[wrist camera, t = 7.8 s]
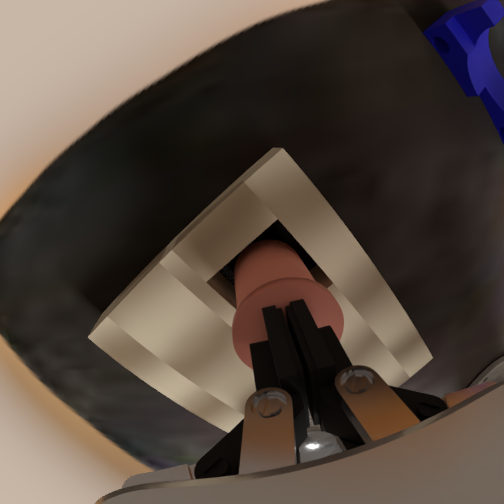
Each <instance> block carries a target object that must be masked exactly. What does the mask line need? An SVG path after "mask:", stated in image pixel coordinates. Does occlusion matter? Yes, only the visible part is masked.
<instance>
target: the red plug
mask: <svg viewBox="0 0 504 504" xmlns="http://www.w3.org/2000/svg"><path fill="white" fill-rule="evenodd" d="M234 281H235V292H236V302H237V310H236V312H235V315H234V318H233V322H232V337H233V345H234V349H235V351H236V353H237V355H238V357H239V358H240V359H241V361H242V362H243V363H244V364H245V365H247V366H248V367H249V368H251V369H252V370H253V366H252V360H251V353H250V346H249V344H251V343H256V342H261V341H265V340H268V337H267V332H266V327H265V322H264V318H263V313H262V308H264V307H269V306H273V305H275V306H276V309H277V308H282V311H283V314H284V317H285V319H286V322H287V316H286V310H285V306H290V302H291V301H295V300H300V299H304V301H305V303H306V305H307V307H308V309H309V311H310V313H311V315H312V317H313V319H314V321H315V323H316V325H317V327H318V328H320V327H324V326H328V325H330V326H331V327H332V329H333V331H334V332H335V334H336V336H337V338H338V339H339V341H340V339H341V337H342V334H343V329H344V316H343V312H342V309H341V307H340V305H339V303H338V302H337V301H336V299H335V298H334V296H333V295H332V293H331V292H330V291H329V290H328V289H327V288H326V287H324V286H323V285H321V284H320V283H318V282H316V281H315V280H314V278H313V277H312V275H311V274H310V272H309V271H308V269H307V267H306V266H305V264H304V263H303V261H302V260H301V258H300V257H299V255H298V254H297V252H296V251H295V250H294V249H293V248H292V247H291V246H290V245H288V244H286V243H285V242H282V241H279V240H273V239H266V240H261V241H257V242H255V243H253V244H251V245H249V246H248V247H247V248H245V249H244V250H243V251H242V253H241V254H240V255H239V257H238V258H237V261H236V263H235V267H234ZM287 325H288V323H287Z"/></svg>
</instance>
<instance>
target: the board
mask: <svg viewBox="0 0 504 504" xmlns="http://www.w3.org/2000/svg"><path fill="white" fill-rule="evenodd" d="M277 219H278V220H279V221H280V222H281V223H282V224H283V225H284V227H285V228H286V229H287V230H288V231H289V232H290V233H291V234H292V236H293V237H294V238H295V239H296V240H297V241H298V242H299V243H300V245H301V246H302V247H303V248H304V249H305V250H306V252H307V253H308V254H309V255H310V256H311V257H312V258H313V260H314V261H315V262H316V263H317V265H316V266H315V267H313V268H312V269H311V270H310V271H309V272H310V274H311V275H312V277H313V278H314V280H315V281H316V282H318V283H320V284H321V285H323V286H324V287H326V288H327V289H328V290H329V291H330V292H331V293H332V295H333V296H334V298H335V299H336V301H337V302H338V303H339V305H340V307H341V309H342V312H343V316H344V329H343V334H342V337H341V339H340V343H341V345H342V347H343V348H344V350H345V352H346V354H347V356H348V357H349V359H350V361H351V363H352V365H353V366H354V365H363V366H368V367H370V368H372V369H373V370H375V371H376V372H377V373H378V374H379V375H380V377H381V378H382V379H383V380H384V381H385V382H386V383H387V384H388V385H390V386H394V387H399V386H400V385H401V384H403V383H404V382H405V381H406V380H408V379H409V378H410V377H411V376H413V375H414V374H415V373H416V372H417V371H419V370H420V369H421V368H422V367H423V366H425V365H426V364H427V363H428V362H429V361H430V360H431V359H433V357H432V355H431V353H430V352H429V350H428V348H427V346H426V345H425V343H424V341H423V340H422V338H421V336H420V335H419V333H418V331H417V330H416V328H415V326H414V325H413V323H412V322H411V320H410V318H409V317H408V315H407V314H406V312H405V310H404V309H403V307H402V306H401V304H400V303H399V301H398V300H397V298H396V297H395V295H394V293H393V292H392V290H391V289H390V287H389V286H388V284H387V283H386V281H385V280H384V279H383V277H382V276H381V274H380V273H379V271H378V270H377V268H376V267H375V265H374V264H373V263H372V261H371V260H370V258H369V257H368V255H367V254H366V253H365V251H364V250H363V248H362V247H361V246H360V244H359V243H358V242H357V240H356V239H355V237H354V236H353V235H352V233H351V232H350V231H349V229H348V228H347V227H346V225H345V224H344V223H343V221H342V220H341V219H340V217H339V216H338V215H337V214H336V212H335V211H334V210H333V208H332V207H331V206H330V205H329V203H328V202H327V201H326V199H325V198H324V197H323V196H322V194H321V193H320V192H319V191H318V189H317V188H316V187H315V186H314V184H313V183H312V182H311V181H310V180H309V178H308V177H307V176H306V175H305V173H304V172H303V171H302V170H301V169H300V168H299V166H298V165H297V164H296V163H295V162H294V160H293V159H292V158H291V157H290V156H289V155H288V153H287V152H286V151H285V150H284V149H283V148H272V149H271V150H270V151H269V152H267V153H266V154H265V155H264V156H263V157H262V158H260V159H259V160H258V161H257V162H256V163H255V164H254V165H252V166H251V167H250V168H249V169H248V170H247V171H246V172H245V173H243V174H242V175H241V176H240V177H239V178H238V179H237V180H236V181H235V182H233V183H232V184H231V185H230V186H229V187H228V188H227V189H226V190H225V191H224V192H223V193H221V194H220V195H219V196H218V197H217V198H216V199H215V200H214V201H213V202H212V203H211V204H210V205H209V206H207V207H206V208H205V209H204V210H203V211H202V212H201V213H200V214H199V215H198V216H197V217H196V218H195V219H194V220H193V221H192V222H191V223H190V224H189V225H188V226H186V227H185V228H184V229H183V230H182V231H181V232H180V233H179V234H178V235H177V236H176V237H175V238H174V239H173V240H172V241H171V242H170V243H169V244H168V245H167V246H166V247H165V248H164V249H163V250H162V251H161V252H160V253H159V254H158V255H157V256H156V257H155V258H154V259H153V260H152V261H151V262H150V263H149V264H148V265H147V266H146V267H145V268H144V269H143V270H142V271H141V273H140V274H139V275H138V276H137V277H136V278H135V279H134V280H133V281H132V282H131V283H130V284H129V285H128V286H127V287H126V288H125V289H124V290H123V291H122V293H121V294H120V295H119V296H118V297H117V298H116V299H115V300H114V301H113V302H112V303H111V304H110V305H109V307H108V308H107V309H106V310H105V311H104V312H103V313H102V315H101V316H100V318H99V319H98V321H97V323H96V324H95V326H94V328H93V329H92V331H91V333H90V334H89V336H88V338H89V339H90V340H91V341H92V342H94V343H95V344H96V345H97V346H98V347H100V348H101V349H102V350H103V351H105V352H106V353H107V354H108V355H110V356H111V357H112V358H113V359H115V360H116V361H117V362H119V363H120V364H121V365H123V366H124V367H125V368H127V369H128V370H129V371H131V372H132V373H133V374H135V375H136V376H138V377H139V378H140V379H142V380H143V381H145V382H146V383H147V384H149V385H150V386H152V387H153V388H155V389H156V390H158V391H159V392H161V393H162V394H164V395H165V396H167V397H168V398H170V399H171V400H173V401H174V402H176V403H178V404H179V405H181V406H182V407H184V408H186V409H187V410H189V411H191V412H192V413H194V414H196V415H197V416H199V417H201V418H202V419H204V420H206V421H208V422H209V423H211V424H213V425H215V426H217V427H218V428H220V429H222V430H224V431H226V432H228V433H229V432H230V431H231V430H232V429H233V428H234V427H235V426H236V425H237V424H238V423H239V422H240V421H241V420H242V419H243V418H244V414H245V405H246V401H247V399H248V398H249V397H250V395H252V394H253V393H254V392H256V386H255V380H254V373H253V370H252V369H251V368H249V367H248V366H247V365H245V364H244V363H243V362H242V361H241V359H240V358H239V357H238V355H237V353H236V351H235V349H234V345H233V337H232V322H233V318H234V315H235V312H236V310H237V302H236V292H235V286H234V285H233V284H232V283H231V282H230V281H229V280H227V279H226V278H225V277H224V276H223V275H222V274H221V273H220V272H219V270H220V269H222V268H223V267H224V266H225V265H226V264H227V263H228V262H229V261H231V260H232V259H233V258H234V257H235V256H236V255H237V254H238V253H240V252H241V251H242V250H243V249H244V248H245V247H246V246H248V245H249V244H250V243H251V242H252V241H253V240H254V239H256V238H257V237H258V236H259V235H260V234H261V233H262V232H263V231H265V230H266V229H267V228H268V227H269V226H270V225H271V224H273V223H274V222H275V221H276V220H277Z"/></svg>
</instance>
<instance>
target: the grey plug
mask: <svg viewBox="0 0 504 504" xmlns="http://www.w3.org/2000/svg"><path fill="white" fill-rule="evenodd" d="M308 411H309V408H308ZM309 421H310V427H308V428H307V433H308V437H307V438H306V440H305V441H304V442H303V444H302V445H301V446H300V456H301V463H304V462H308V461H312V460H316V459H320V458H323V457H326V456H328V455H329V454H330V453H331V452H332V451H333V450H334V449H335V447H336V445H337V441H336V439H335V435H332V434H330V433H327V432H326V431H324V432H322V431H321V428H320V425H316V426H314V424H313V421H312V417H311V414H310V411H309Z"/></svg>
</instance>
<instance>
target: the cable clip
mask: <svg viewBox="0 0 504 504" xmlns="http://www.w3.org/2000/svg"><path fill="white" fill-rule="evenodd" d="M503 16H504V8H503V7H502V5H501V4H500V2H499V1H498V0H476V1H473V2H471V3H468V4H465V5H463V6H460V7H458V8H455V9H453V10H450V11H448V12H446V13H445V14H444V15H442V16H441V17H440V18H439V19H438V20H437V21H435V22H434V23H433V24H432V25H431V26H429V27H428V28H427V29H426V30H425V31H424V32H422V33H423V34H424V35H425V36H426V38H427V39H428V40H429V42H430V43H431V44H432V45H433V47H434V48H435V49H436V51H437V52H438V53H439V55H440V56H441V58H442V59H443V60H444V62H445V63H446V65H447V66H448V67H449V69H450V70H451V72H452V73H453V75H454V76H455V78H456V79H457V81H458V83H459V84H460V86H461V87H462V89H463V91H464V92H465V94H466V95H467V97H469V96H480V98H481V100H482V101H483V103H484V105H485V107H486V109H487V111H488V113H489V115H490V117H491V119H492V121H493V123H494V125H495V127H496V129H497V131H498V133H499V135H500V137H501V140H502V142H503V144H504V79H503V78H502V76H501V75H500V73H499V71H498V69H497V68H496V66H495V64H494V61H493V59H492V56H491V53H490V49H489V44H488V33H489V28H490V27H493V26H495V25H496V24H497V23H498V22H499V21H500V19H501V18H502V17H503Z"/></svg>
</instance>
